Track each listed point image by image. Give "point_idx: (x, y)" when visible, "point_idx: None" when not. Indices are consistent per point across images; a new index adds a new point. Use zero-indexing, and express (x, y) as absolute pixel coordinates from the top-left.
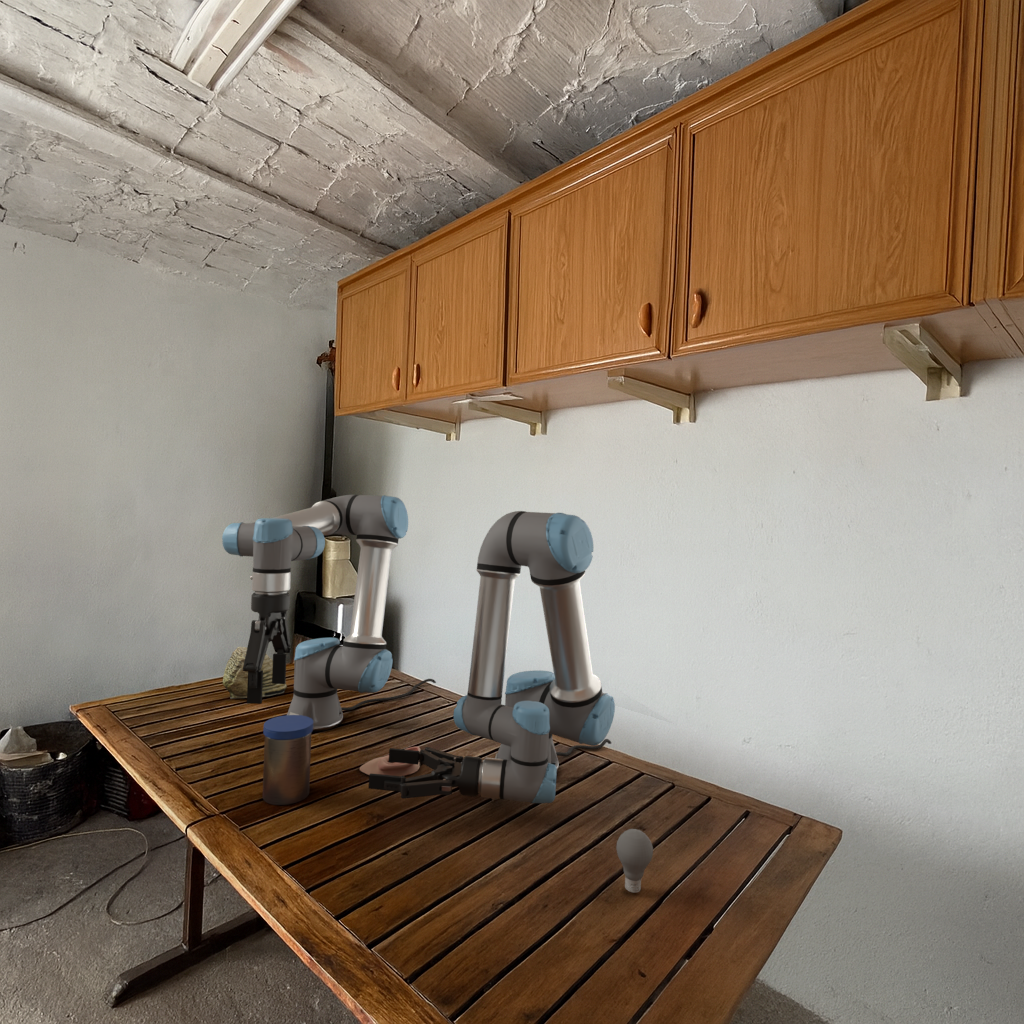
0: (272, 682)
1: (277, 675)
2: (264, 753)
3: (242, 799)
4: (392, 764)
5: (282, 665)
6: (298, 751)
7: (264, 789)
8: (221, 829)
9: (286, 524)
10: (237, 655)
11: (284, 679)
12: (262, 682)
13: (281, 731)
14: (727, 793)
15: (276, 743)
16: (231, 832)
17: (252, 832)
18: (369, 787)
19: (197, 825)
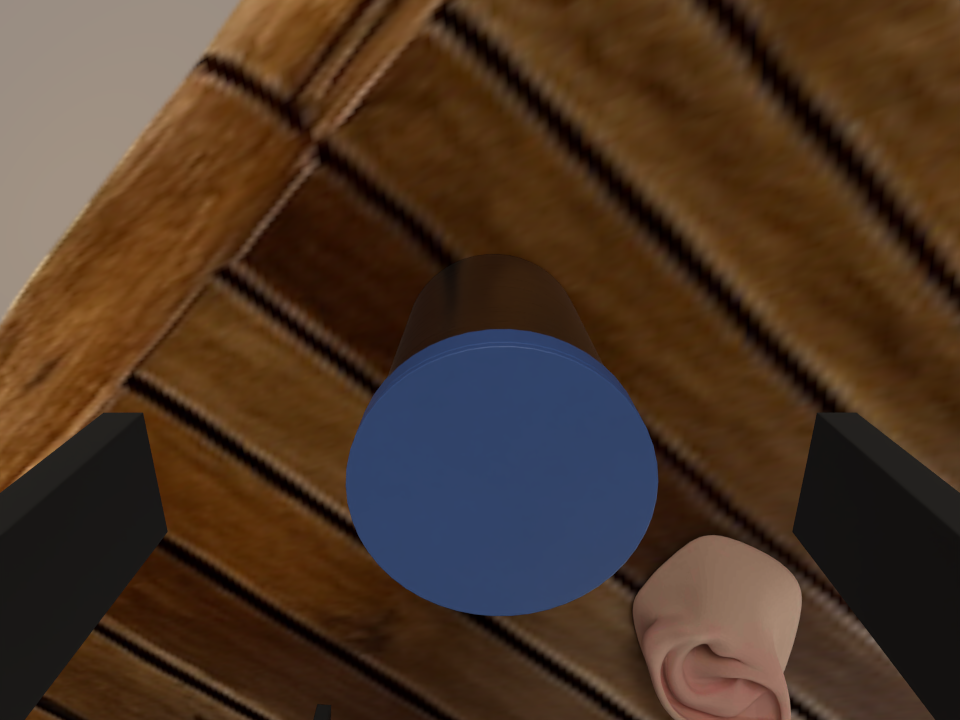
0: (822, 424)
1: (858, 520)
2: (439, 317)
3: (440, 185)
4: (670, 664)
5: (933, 673)
6: None
7: (431, 286)
8: (205, 204)
9: None
10: None
11: (820, 563)
12: (28, 703)
13: (349, 496)
14: None
15: None
16: (194, 248)
17: (210, 319)
18: (317, 710)
19: (212, 96)
